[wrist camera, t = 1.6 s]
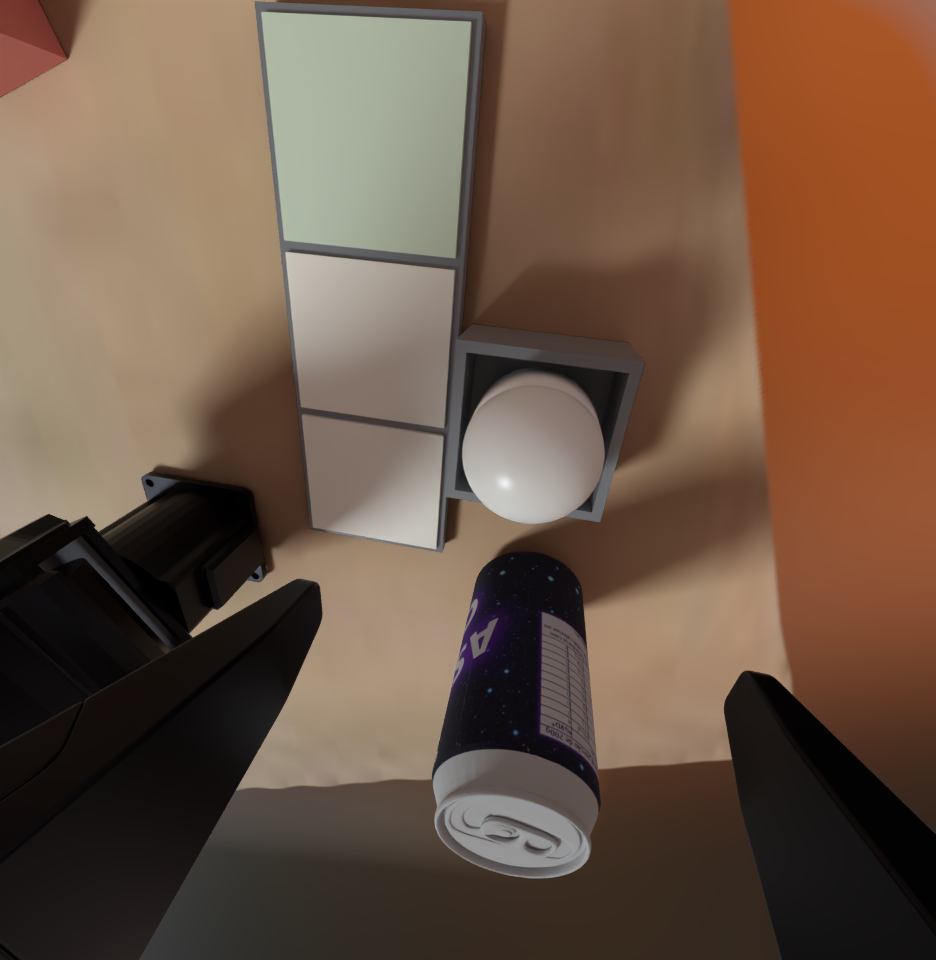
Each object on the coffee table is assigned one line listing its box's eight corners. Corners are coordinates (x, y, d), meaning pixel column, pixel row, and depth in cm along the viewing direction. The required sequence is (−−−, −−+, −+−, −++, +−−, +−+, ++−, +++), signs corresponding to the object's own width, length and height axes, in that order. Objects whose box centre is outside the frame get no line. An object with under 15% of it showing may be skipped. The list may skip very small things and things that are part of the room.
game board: (316, 521, 25) (308, 531, 24) (269, 13, 15) (250, -2, 14) (445, 543, 24) (441, 554, 23) (486, 23, 14) (482, 8, 13)
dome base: (459, 461, 21) (444, 496, 18) (472, 324, 18) (456, 339, 15) (592, 481, 21) (600, 522, 18) (628, 343, 18) (645, 362, 14)
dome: (468, 472, 19) (444, 538, 14) (480, 358, 16) (455, 398, 12) (582, 490, 18) (592, 564, 14) (611, 375, 16) (632, 422, 12)
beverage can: (498, 525, 23) (451, 763, 12) (600, 564, 23) (641, 833, 12) (464, 599, 25) (403, 844, 15) (555, 634, 25) (557, 901, 15)
